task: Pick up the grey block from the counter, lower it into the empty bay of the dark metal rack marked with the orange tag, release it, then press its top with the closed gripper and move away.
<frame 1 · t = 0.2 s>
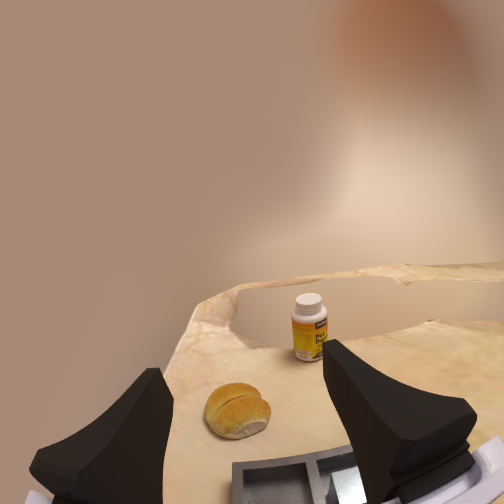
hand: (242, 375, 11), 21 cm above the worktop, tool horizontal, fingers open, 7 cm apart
supplement bottle: (310, 353, 45), on the worktop
bread roll: (239, 417, 33), on the worktop
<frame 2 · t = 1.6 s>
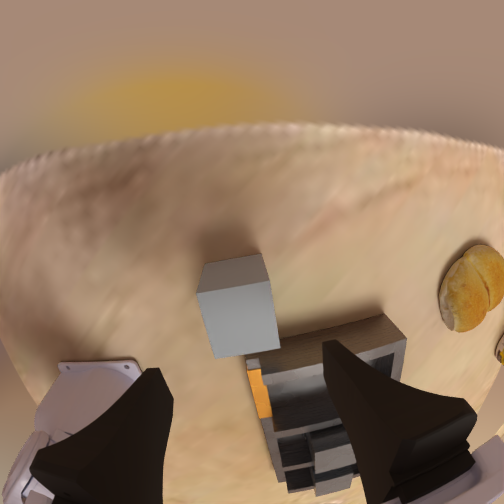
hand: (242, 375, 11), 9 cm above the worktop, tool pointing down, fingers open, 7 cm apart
rack: (322, 414, 25), on the worktop
bread roll: (465, 284, 22), on the worktop
grey block: (238, 287, 21), on the worktop
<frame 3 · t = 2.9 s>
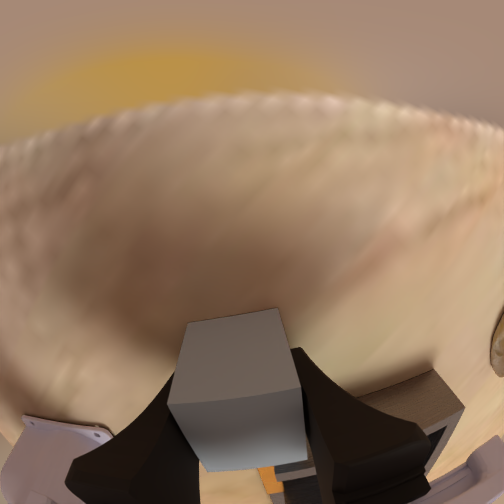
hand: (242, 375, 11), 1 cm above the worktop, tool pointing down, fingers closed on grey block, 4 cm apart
rack: (342, 475, 18), on the worktop
grey block: (241, 356, 13), on the worktop, touching gripper
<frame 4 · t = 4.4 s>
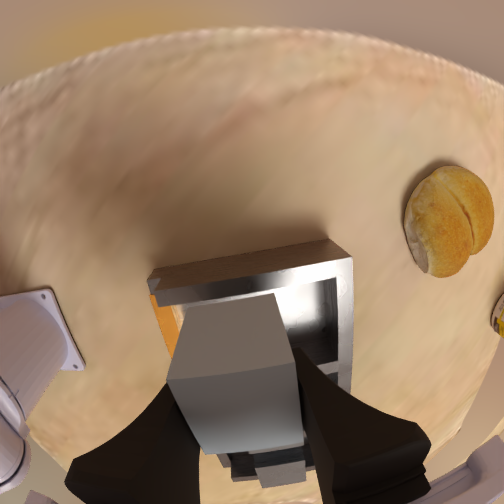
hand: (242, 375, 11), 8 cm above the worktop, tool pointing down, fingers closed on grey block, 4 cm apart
supplement bottle: (502, 307, 23), on the worktop
rack: (265, 379, 22), on the worktop
bread roll: (441, 218, 19), on the worktop
grey block: (239, 341, 13), point 6 cm above the worktop, touching gripper
when the fingers open (4 cm above the worktop, at t = 5.8 s): grey block stays where it is, resting on rack.
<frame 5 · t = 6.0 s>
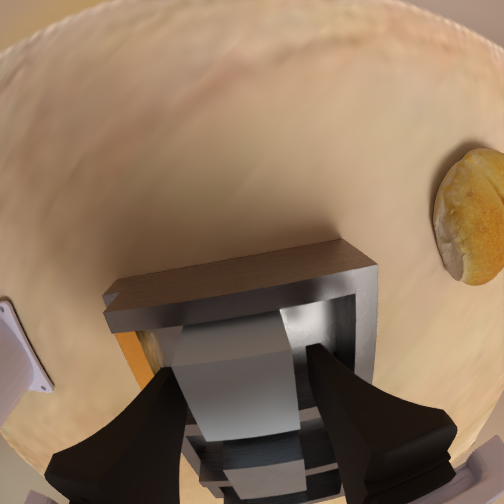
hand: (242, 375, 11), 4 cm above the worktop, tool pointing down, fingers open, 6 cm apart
rack: (260, 410, 17), on the worktop
bread roll: (472, 213, 15), on the worktop
grey block: (239, 333, 14), point 1 cm above the worktop, touching rack
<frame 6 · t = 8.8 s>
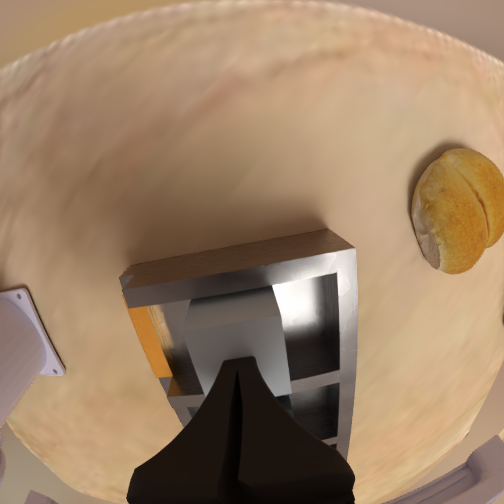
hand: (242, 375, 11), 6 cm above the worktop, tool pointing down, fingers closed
rack: (258, 388, 19), on the worktop
bread roll: (451, 208, 17), on the worktop
grey block: (238, 312, 16), point 1 cm above the worktop, touching rack
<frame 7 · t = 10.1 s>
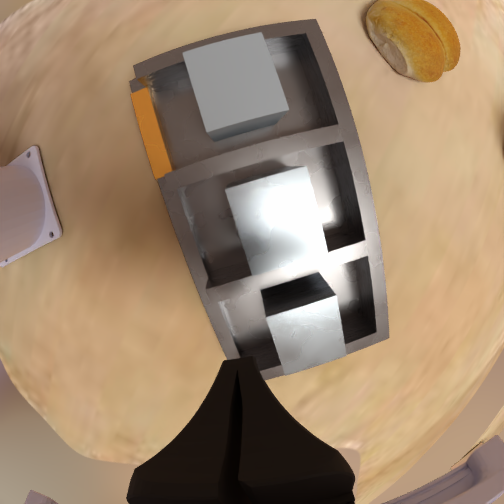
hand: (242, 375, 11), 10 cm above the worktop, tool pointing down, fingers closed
rack: (266, 205, 19), on the worktop
photo printer: (466, 454, 38), on the worktop
bread roll: (407, 41, 16), on the worktop
grey block: (234, 101, 16), point 1 cm above the worktop, touching rack
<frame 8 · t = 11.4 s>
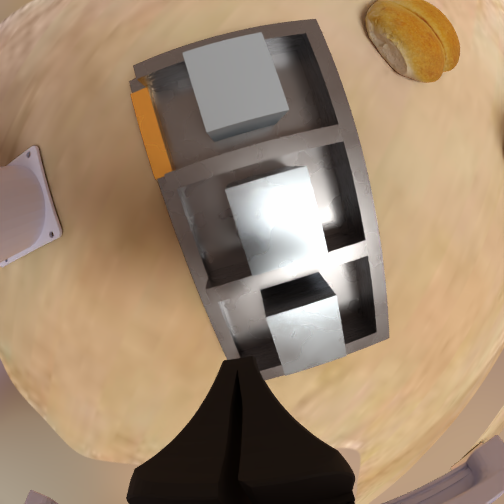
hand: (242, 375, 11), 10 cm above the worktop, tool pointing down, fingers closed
rack: (266, 205, 19), on the worktop
photo printer: (466, 454, 38), on the worktop
bread roll: (407, 41, 16), on the worktop
grey block: (234, 101, 16), point 1 cm above the worktop, touching rack
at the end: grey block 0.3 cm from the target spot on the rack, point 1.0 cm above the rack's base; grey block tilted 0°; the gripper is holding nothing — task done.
